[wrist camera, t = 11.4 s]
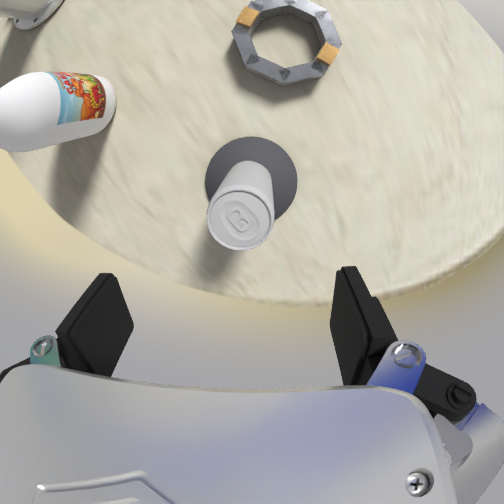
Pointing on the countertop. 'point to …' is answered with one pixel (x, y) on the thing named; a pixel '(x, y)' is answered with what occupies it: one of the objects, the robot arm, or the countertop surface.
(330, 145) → the countertop surface
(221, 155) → the slate coaster
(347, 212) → the countertop surface
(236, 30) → the ring
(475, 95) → the countertop surface
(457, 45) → the countertop surface
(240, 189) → the beverage can
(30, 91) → the milk bottle
